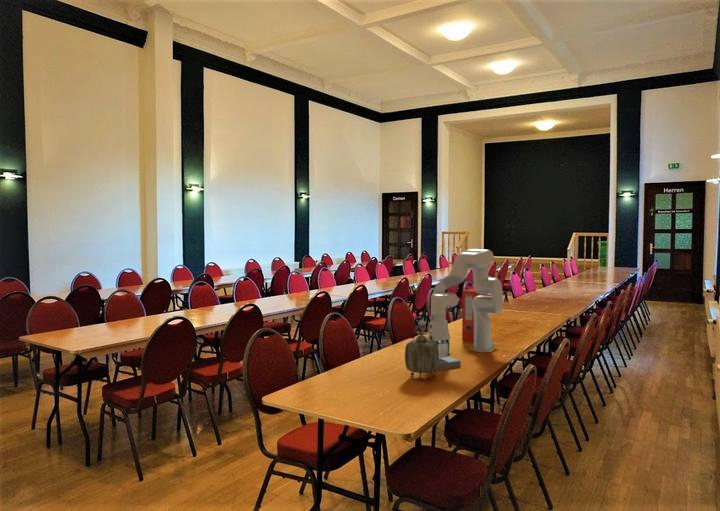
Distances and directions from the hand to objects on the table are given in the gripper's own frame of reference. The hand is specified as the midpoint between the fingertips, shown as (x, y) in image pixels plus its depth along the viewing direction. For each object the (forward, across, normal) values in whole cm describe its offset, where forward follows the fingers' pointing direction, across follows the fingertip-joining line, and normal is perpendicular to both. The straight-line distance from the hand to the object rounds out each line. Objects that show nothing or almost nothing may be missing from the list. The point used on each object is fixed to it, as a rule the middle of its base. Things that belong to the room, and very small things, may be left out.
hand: (438, 352), depth 270 cm
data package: (+7, +16, +19) cm, 26 cm away
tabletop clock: (+7, -22, -16) cm, 28 cm away
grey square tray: (+6, 0, 0) cm, 6 cm away
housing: (+2, 0, 0) cm, 2 cm away
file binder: (+6, +56, +37) cm, 67 cm away
